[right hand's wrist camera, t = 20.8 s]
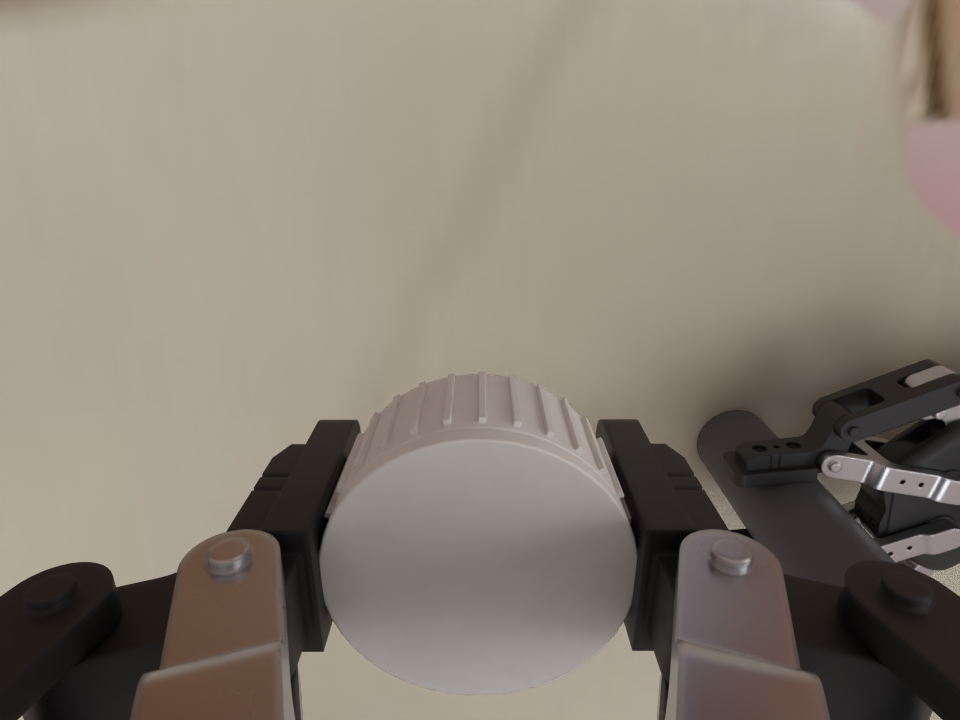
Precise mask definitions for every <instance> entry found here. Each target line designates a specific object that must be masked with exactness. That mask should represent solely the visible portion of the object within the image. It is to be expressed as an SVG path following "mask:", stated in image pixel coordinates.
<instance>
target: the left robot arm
mask: <svg viewBox="0 0 960 720" xmlns="http://www.w3.org/2000/svg"><path fill="white" fill-rule="evenodd" d="M812 412H813V414H814V416H815V418H814V420H813V422H812V424H811V426H810V428H809V429H808V431H805V432H803V433H801V434H800V435H799V436H798V437H792V438H782V439H771V440H761V441H750V442H745V443H742V444H740V445H738V446H735V451H729V452H725V453H724V454H723V464H722V468H723V470H724V471H725V473H726V474H727V476H728V477H729V478H730V480H731V481H732V483H733V484H734V485H736V486H739V487H743V488H749V487H760V486H770V485H781V484H792V483H803V482H814V481H817V473H821V472H822V473H823V474H824V475H825V476H826V477H829V478H836V479H842V480H848V481H855V482H860V483H861V489H860V491H859V493H858V495H857V497H856V500H855V501H852V502H849V503H846V504H843V505H842V506H843V507H844V508H845V509H846V510H847V511H848V513H849V514H850V515H851V516H852V517H853V518H854V519H855V520H856V521H857V522H858V523H859V524H860V525H863V527H864V528H865V529H866V530H867V531H868V532H869V533H870V534H871V535H872V536H873V537H874V538H873V539H874V540H875V541H876V542H877V543H878V544H879V545H880V546H881V547H882V548H883V550H884V551H885V552H886V553H887V554H888V555H889V556H890V557H891V558H892V559H893V560H894V561H895V562H896V563H897V564H899V565H903V566H906V567H909V568H912V569H914V570H917V571H919V572H921V573H923V574H926V575H928V576H929V577H930V575H931V574H932V572H933V570H945V569H948V568H951V567H953V566H955V565H957V564H959V563H960V374H958V373H956V372H954V371H952V370H950V369H948V368H946V367H944V366H942V365H940V364H938V363H936V362H934V361H932V360H923V361H920V362H917V363H915V364H912V365H909V366H906V367H904V368H901V369H898V370H896V371H893V372H890V373H887V374H885V375H882V376H879V377H877V378H874V379H871V380H868V381H866V382H863V383H860V384H858V385H855V386H852V387H849V388H847V389H844V390H841V391H838V392H836V393H833V394H830V395H828V396H825V397H822V398H820V399H818V400H817V401H816V402H815V403H814V405H813V408H812ZM919 419H921V420H920V421H918V422H917V423H915V424H914V425H912V426H911V427H909V428H908V429H906V430H905V431H903V432H901V433H900V434H898V435H897V436H895V437H894V438H892V439H885V438H879V437H873V436H874V435H877V434H880V433H882V432H885V431H888V430H891V429H894V428H896V427H899V426H902V425H905V424H908V423H911V422H913V421H916V420H919ZM729 531H731V532H735V533H738V534H741V535H744V536H747V537H749V538H751V539H753V538H752V536H751V535H750V533H749V531H748V530H747V529H737V530H729ZM753 540H754V539H753Z"/></svg>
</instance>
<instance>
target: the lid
mask: <svg viewBox="0 0 960 720" xmlns="http://www.w3.org/2000/svg"><path fill="white" fill-rule="evenodd" d="M623 497H624V494H623V491H622V488H621V486H620V483H619V481H618V478H617V476H616V473H615V470H614V468H613V465H612V463H611V460H610V458H609V455H608V452H607V450H606V447H605V445H604V442H603V440H602V438H601V437H600V438H598V439H597V438H596V437H595V435H594V433H593V430H592V428H591V425H590V422H589V420H588V418H587V417H586V416H584V417H583V418H582V417H581V416H580V415H579V414H578V413H577V412H576V411H575V410H574V409H573V408H572V407H571V406H570V404H569V401H568V400H567V399H565V398H563V399H562V400H561V399H560V398H558V397H557V396H555V395H554V394H552V393H550V392H548V391H546V390H544V386H542V385H540V384H538V385H537V386H535V385H533V384H530V383H528V382H525V381H522V380H518V379H516V378H515V376H511V375H509V377H505V376H497V375H489V374H485V372H479V374H469V375H460V376H455V374H451V375H448V378H444V379H440V380H435V381H432V382H430V383H427V384H426V383H425V382H422V383H420V384H419V387H417V388H415V389H413V390H411V391H409V392H407V393H406V394H404V395H402V396H401V397H400V396H399V395H397V396H395V397H394V398H393V402H392V403H391V404H389V405H388V406H387V407H386V408H385V409H384V410H383V411H382V412H381V413H380V414H379V413H377V412H375V414H374V415H373V416H372V419H371V421H370V424H369V426H368V428H367V429H366V431H365V432H364V434H361V433H359V434H358V436H357V437H356V440H355V443H354V445H353V448H352V450H351V453H350V455H349V456H348V458H347V460H346V463H345V465H344V468H343V470H342V473H341V475H340V478H339V480H338V483H337V485H336V488H335V490H334V493H333V495H332V498H331V500H330V503H329V505H328V508H327V510H326V513H325V518H328V519H329V521H328V523H327V526H326V528H325V531H324V534H323V537H322V541H321V546H320V550H319V562H320V572H321V580H322V588H323V595H324V602H325V605H326V607H327V609H328V611H329V614H330V616H331V618H332V620H333V621H334V623H335V624H336V626H337V627H338V629H339V631H340V632H341V634H342V635H343V636H344V637H345V638H346V639H347V641H348V642H349V643H350V644H351V645H352V646H353V647H354V648H355V649H356V650H357V651H358V652H359V653H360V654H362V655H363V656H364V657H365V658H366V659H368V660H369V661H370V662H372V663H373V664H375V665H376V666H377V667H379V668H380V669H382V670H384V671H386V672H388V673H389V674H391V675H393V676H395V677H397V678H399V679H402V680H404V681H407V682H409V683H411V684H414V685H417V686H421V687H424V688H427V689H430V690H435V691H440V692H445V693H452V694H462V695H495V694H506V693H512V692H517V691H522V690H526V689H530V688H533V687H537V686H540V685H543V684H546V683H548V682H551V681H553V680H556V679H558V678H560V677H562V676H564V675H566V674H568V673H570V672H571V671H573V670H575V669H577V668H578V667H580V666H581V665H583V664H584V663H585V662H587V661H588V660H590V659H591V658H592V657H593V656H594V655H596V654H597V653H598V652H599V651H600V650H601V649H602V648H604V646H605V645H606V644H607V643H608V642H609V641H610V640H611V638H612V637H613V636H614V635H615V634H616V632H617V631H618V629H619V628H620V626H621V625H622V623H623V622H624V620H625V618H626V616H627V614H628V612H629V610H630V607H631V604H632V597H633V589H634V581H635V573H636V564H637V546H636V541H635V537H634V534H633V531H632V529H631V526H630V524H631V516H630V513H629V511H628V508H627V505H626V503H625V500H624V498H623Z"/></svg>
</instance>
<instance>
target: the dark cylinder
mask: <svg viewBox="0 0 960 720" xmlns="http://www.w3.org/2000/svg"><path fill="white" fill-rule="evenodd" d="M771 439H778V437H777V436H776V435H775V434H774V433H773V432H772V431H771V430H770V429H769V428H768V427H767V426H766V425H765V424H764V423H763V422H762V421H761V420H760V419H759V418H758V417H757V416H755V415H754V414H752V413H749V412H745V411H729V412H725V413H722V414H720V415H718V416H716V417H714V418H713V419H711V420H710V421H709V422H708V423H707V424H706V425H705V426H704V428H703V429H702V431H701V432H700V435H699V438H698V443H697V449H698V453H699V456H700V458H701V460H702V461H703V463H704V464H705V466H706V467H707V469H708V470H709V472H710V473H711V475H712V476H713V478H714V479H715V481H716V483H717V484H718V486H719V487H720V489H721V490H722V492H723V493H724V495H725V496H726V498H727V499H728V501H729V502H730V504H731V505H732V507H733V509H734V510H735V512H736V513H737V515H738V516H739V518H740V519H741V521H742V522H743V524H744V525H745V527H746V528H747V530H748V531H749V533H750V535H751V536H752V538H753V539H754V540H755V541H757V542H759V543H760V544H762V545H763V546H765V547H766V548H767V549H768V550H770V551H771V552H772V553H773V554H774V555H775V557H776V558H777V559H778V561H779V563H780V564H781V567H782V570H783V573H784V574H787V575H791V576H794V577H798V578H803V579H808V580H812V581H817V582H821V583H826V584H831V585H835V586H840V587H841V586H842V583H843V579H844V576H845V573H846V570H847V569H848V568H849V567H850V566H851V565H853V564H855V563H858V562H861V561H868V560H877V561H886V562H891V563H896V562H895V561H894V560H893V559H892V558H891V557H890V556H889V555H888V554H887V553H886V552H885V551H884V550H883V548H882V547H881V546H880V545H879V544H878V543H877V542H876V541H875V540H874V539H873V538H872V537H871V536H870V535H869V534H868V533H867V532H866V531H865V529H864V528H863V527H862V526H861V525H860V524H859V523H858V522H857V521H856V520H855V519H854V518H853V517H852V516H851V515H850V514H849V513H848V511H847V510H846V509H845V508H844V507H843V506H842V505H841V504H840V503H839V502H838V501H837V500H836V499H835V498H834V497H833V496H832V495H831V494H830V492H829V491H828V490H827V489H826V488H825V487H824V486H823V485H822V484H821V483H820V482H819V481H818V480H817V481H814V482H803V483H792V484H781V485H770V486H760V487H749V488H743V487H739V486H736V485H734V484H733V483H732V481H731V480H730V478H729V477H728V476H727V474H726V473H725V471H724V470H723V468H722V464H723V454H724V453H725V452H729V451H735V446H738V445H740V444H742V443H745V442H750V441H761V440H771ZM896 564H897V563H896Z"/></svg>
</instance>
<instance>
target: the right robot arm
mask: <svg viewBox="0 0 960 720" xmlns="http://www.w3.org/2000/svg"><path fill="white" fill-rule="evenodd" d="M359 433H361V431H360V425H359V422H358V420H319V421H318V423H317V425H316V427H315V428H314V430H313V432H312V434H311V436H310V438H309V439H308V441H307V443H306V444H291V445H290V446H289V447H287V448H286V449H284V450H283V451H282V452H280V453H279V454H277V455H276V456H275V457H273V458H272V460H271V461H270V463H269V464H268V466H267V468H266V469H265V471H264V472H263V474H262V477H260V479H259V480H258V482H257V484H256V485H255V487H254V491H252V492H251V493H250V495H249V496H248V498H247V500H246V501H245V503H244V504H243V506H242V508H241V509H240V511H239V512H238V514H237V516H236V517H235V519H234V520H233V522H232V524H231V525H230V527H229V528H228V530H227V532H225V533H222V534H219V535H216V536H213V537H211V538H209V539H207V540H205V541H203V542H201V543H200V544H198V545H197V546H195V547H194V548H193V549H192V550H190V551H189V552H188V553H187V554H186V555H185V557H184V558H183V559H182V561H181V563H180V564H179V567H178V570H177V573H174V574H171V575H168V576H165V577H161V578H157V579H152V580H148V581H143V582H138V583H134V584H129V585H125V586H120V587H116V585H115V582H114V578H113V575H112V573H111V571H110V570H109V569H108V568H107V567H105V566H104V565H101V564H98V563H92V562H78V563H70V564H65V565H61V566H57V567H54V568H51V569H48V570H45V571H43V572H40V573H38V574H36V575H34V576H32V577H30V578H28V579H26V580H24V581H22V582H21V583H19V584H18V585H16V586H15V587H13V588H12V589H10V590H9V591H8V592H6V593H5V594H3V595H2V596H1V597H0V720H18V719H19V718H20V717H21V716H22V715H23V718H24V720H303V711H302V697H301V685H300V678H299V671H298V665H297V664H298V661H299V658H300V655H301V653H302V652H323V651H324V648H325V645H326V641H327V638H328V635H329V631H330V628H331V625H332V621H333V620H332V618H331V616H330V614H329V611H328V609H327V607H326V605H325V602H324V595H323V588H322V580H321V572H320V562H319V550H320V546H321V541H322V537H323V534H324V531H325V528H326V526H327V523H328V521H329V519H328V518H325V513H326V510H327V508H328V505H329V503H330V500H331V498H332V495H333V493H334V490H335V488H336V485H337V483H338V480H339V478H340V475H341V473H342V470H343V468H344V465H345V463H346V460H347V458H348V456H349V455H350V453H351V450H352V448H353V445H354V443H355V440H356V437H357V436H358V434H359ZM600 437H601V438H602V440H603V442H604V445H605V447H606V450H607V452H608V455H609V458H610V460H611V463H612V465H613V468H614V470H615V473H616V476H617V478H618V481H619V483H620V486H621V488H622V491H623V494H624V497H623V498H624V500H625V503H626V505H627V508H628V511H629V513H630V516H631V524H630V526H631V529H632V531H633V534H634V537H635V541H636V546H637V564H636V573H635V581H634V589H633V597H632V604H631V607H630V610H629V612H628V614H627V616H626V618H625V620H624V623H625V627H626V630H627V633H628V637H629V640H630V644H631V647H632V651H654V653H655V656H656V659H657V662H658V665H659V668H660V671H661V678H660V685H659V697H658V711H657V720H929V719H930V716H931V714H932V711H934V712H935V713H936V714H937V715H938V716H939V717H940V718H941V719H942V720H960V597H959V596H958V595H957V594H955V593H954V592H952V591H951V590H950V589H948V588H947V587H945V586H944V585H943V584H941V583H939V582H938V581H936V580H935V579H933V578H931V577H929V576H928V575H926V574H923V573H921V572H919V571H917V570H914V569H912V568H909V567H906V566H903V565H899V564H896V563H891V562H886V561H877V560H868V561H861V562H858V563H855V564H853V565H851V566H850V567H849V568H848V569H847V570H846V573H845V576H844V579H843V583H842V586H841V587H840V586H835V585H831V584H826V583H821V582H817V581H812V580H808V579H803V578H798V577H794V576H791V575H787V574H784V573H783V570H782V567H781V564H780V563H779V561H778V559H777V558H776V557H775V555H774V554H773V553H772V552H771V551H770V550H768V549H767V548H766V547H765V546H763V545H762V544H760V543H759V542H757V541H755V540H753V539H751V538H749V537H747V536H744V535H741V534H738V533H735V532H731V531H729V530H728V528H727V526H726V525H725V523H724V522H723V520H722V518H721V517H720V515H719V513H718V512H717V510H716V509H715V507H714V505H713V504H712V502H711V500H710V499H709V497H708V496H707V494H706V492H705V491H704V490H702V486H701V484H700V483H699V481H698V479H697V478H696V477H694V473H693V471H692V470H691V468H690V466H689V465H688V463H687V462H686V460H685V458H684V457H683V456H681V455H680V454H678V453H677V452H676V451H674V450H673V449H671V448H670V447H669V446H667V445H666V444H651V443H650V442H649V440H648V438H647V436H646V434H645V432H644V430H643V429H642V427H641V425H640V423H639V421H638V420H636V419H600V420H599V421H598V424H597V430H596V438H597V439H598V438H600Z"/></svg>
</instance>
